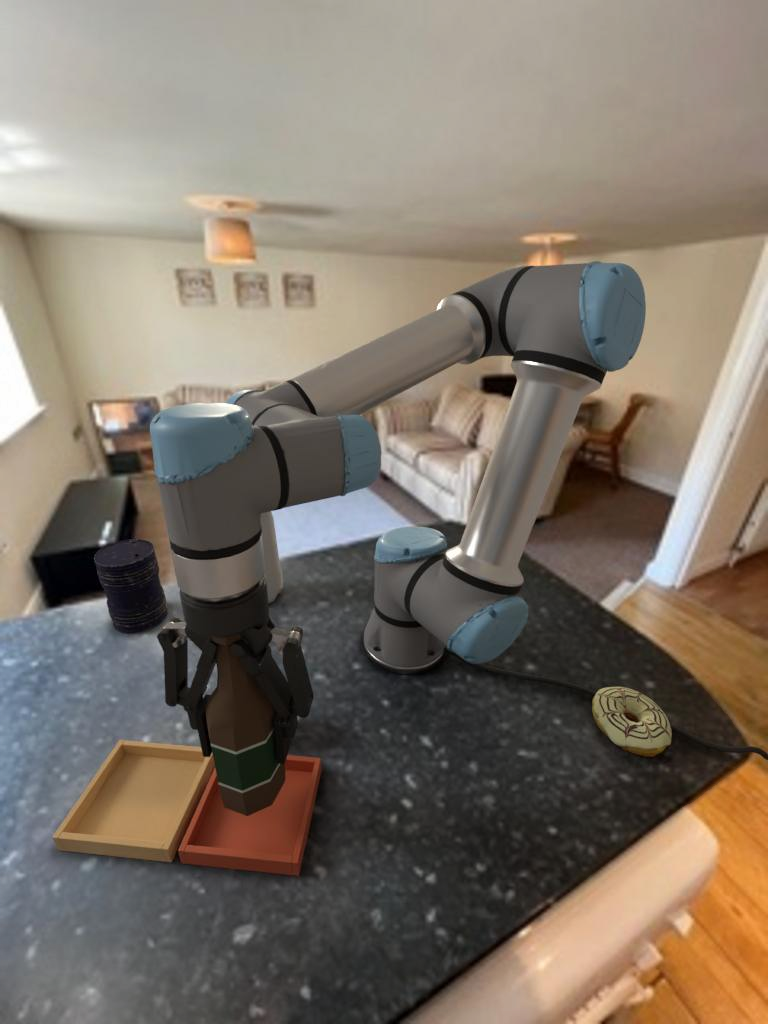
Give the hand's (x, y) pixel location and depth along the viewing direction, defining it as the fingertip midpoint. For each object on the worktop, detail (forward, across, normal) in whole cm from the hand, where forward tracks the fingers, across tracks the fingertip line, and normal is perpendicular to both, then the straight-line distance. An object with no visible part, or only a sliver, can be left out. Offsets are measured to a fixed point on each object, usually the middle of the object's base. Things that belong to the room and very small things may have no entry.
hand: (248, 749), depth 50 cm
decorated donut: (+12, -52, -17) cm, 56 cm away
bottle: (+12, +14, -44) cm, 48 cm away
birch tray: (+12, +14, 0) cm, 19 cm away
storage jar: (+12, +35, -34) cm, 50 cm away
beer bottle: (+6, 0, 0) cm, 6 cm away
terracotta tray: (+12, 0, 0) cm, 12 cm away
